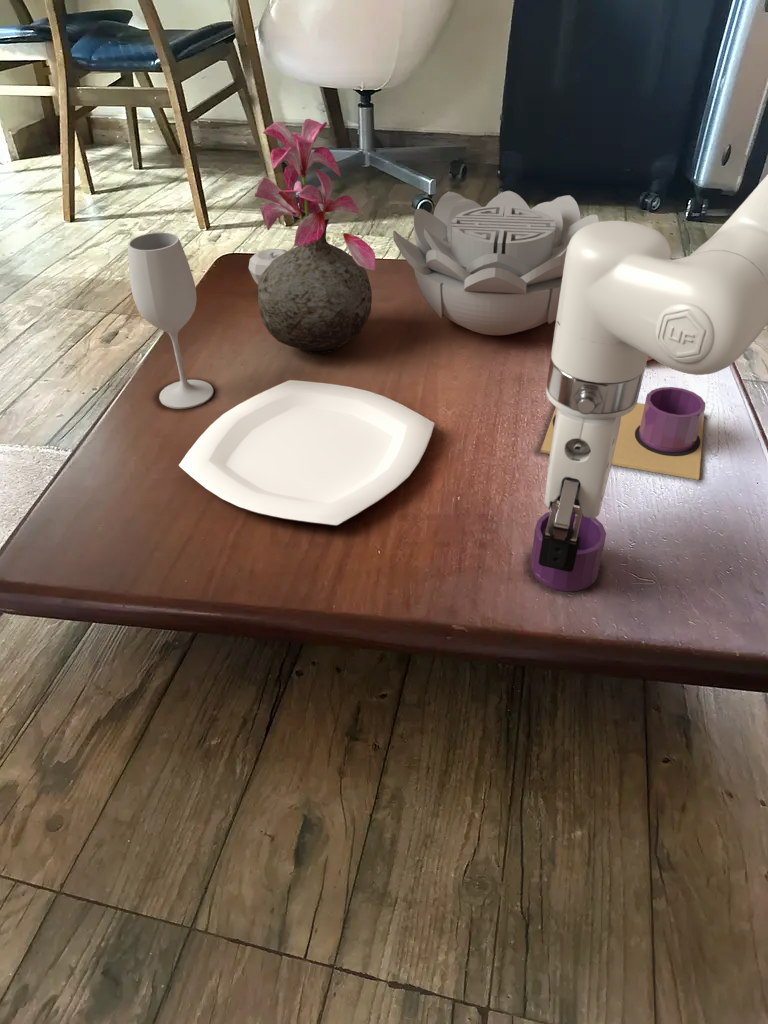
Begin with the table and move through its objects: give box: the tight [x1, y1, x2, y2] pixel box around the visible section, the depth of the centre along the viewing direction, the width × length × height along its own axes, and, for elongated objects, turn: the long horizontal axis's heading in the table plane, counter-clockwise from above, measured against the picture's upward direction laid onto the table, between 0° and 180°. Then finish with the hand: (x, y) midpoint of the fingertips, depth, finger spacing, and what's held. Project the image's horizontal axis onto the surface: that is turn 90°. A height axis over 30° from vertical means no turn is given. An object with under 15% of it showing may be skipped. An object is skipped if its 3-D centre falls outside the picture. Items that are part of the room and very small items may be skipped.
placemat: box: [540, 402, 705, 481], centre depth 96 cm, size 18×14×1 cm
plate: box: [178, 379, 435, 527], centre depth 93 cm, size 27×27×2 cm
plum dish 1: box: [530, 511, 607, 592], centre depth 77 cm, size 7×7×5 cm
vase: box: [254, 118, 377, 355], centre depth 107 cm, size 17×17×30 cm
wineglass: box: [127, 231, 214, 410], centre depth 99 cm, size 8×8×21 cm
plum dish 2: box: [639, 386, 706, 453], centre depth 93 cm, size 7×7×5 cm
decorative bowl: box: [392, 190, 599, 336], centre depth 115 cm, size 30×30×15 cm
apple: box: [248, 248, 288, 286], centre depth 129 cm, size 8×8×7 cm
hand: (564, 533), depth 76 cm, fingers open, 9 cm apart
